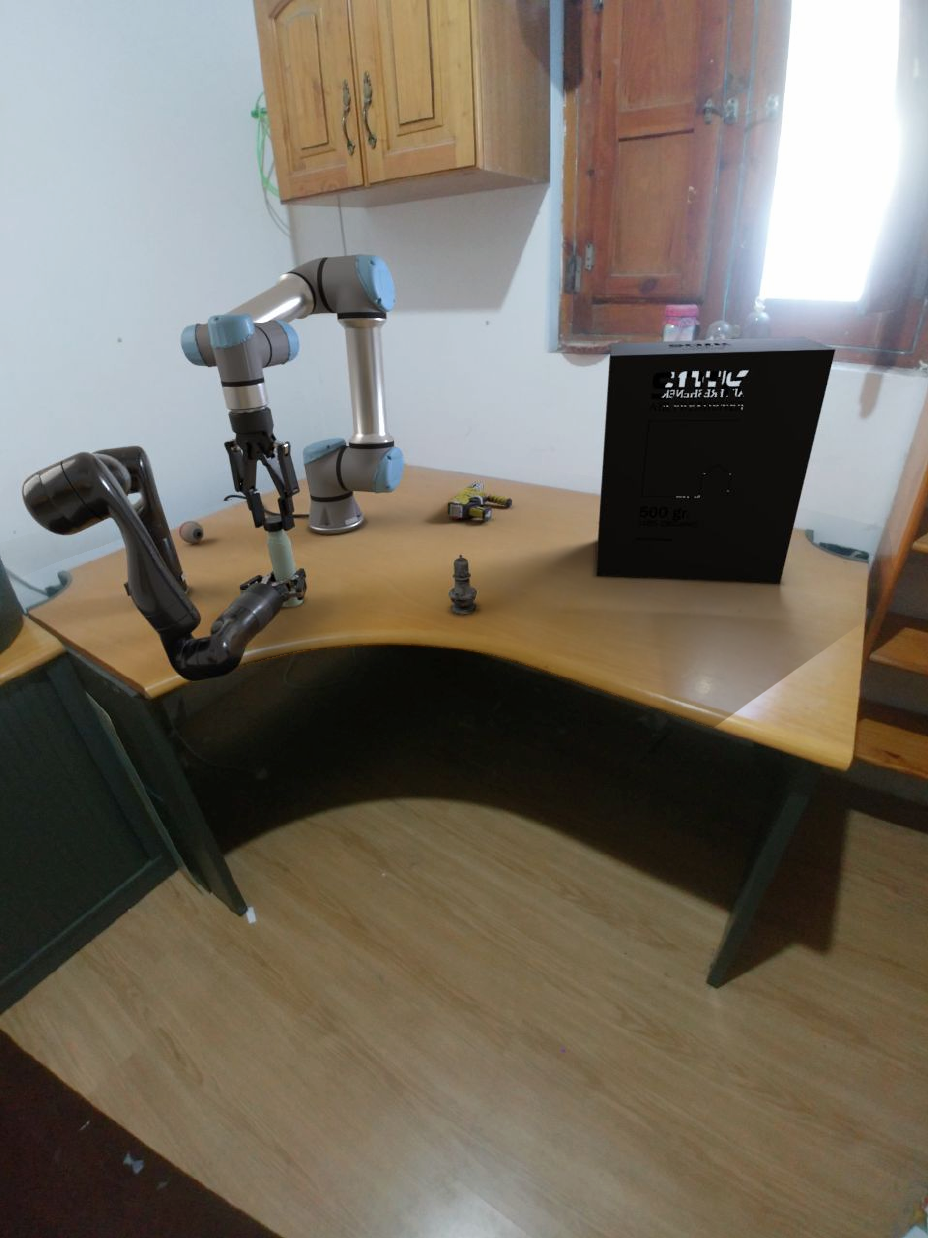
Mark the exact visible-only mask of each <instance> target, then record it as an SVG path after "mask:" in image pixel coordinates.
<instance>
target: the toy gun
mask: <svg viewBox="0 0 928 1238" xmlns="http://www.w3.org/2000/svg"><path fill="white" fill-rule="evenodd" d="M487 502H488V503H493V504H496V505H500V506H504V507H506V508H510V507H511V506H512V505H513V499H512V498H509V497H504V496H500V495H499V496H498V495H494V494H492V493H490V494H489V495H488V496H487V495H486V492H485V483H484V482H483V481H480V482H479V481H477V480H474V482H473V483H471V484H470V485H468V486H467V487H465V488H464V489H462V491H460V492H459V493H458V494H456V496H454V497H453V498H452V499H451V500H449V501H448V502H447V505H446V514H447V516H448V517H451V518H452V519H455V520H458V519H459V518H460V519H467V518H471V517H475V518H479V519H482V522H484V523H485V522H487V521H488V520H491V518H492V512H493V507H492V506H485V505H484V504H486V503H487Z"/></svg>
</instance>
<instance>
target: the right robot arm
mask: <svg viewBox="0 0 928 1238" xmlns="http://www.w3.org/2000/svg"><path fill="white" fill-rule="evenodd" d="M395 301H396V291H395V284H394V280H393V277H392V274H391V271H390V269H389V268H388V265H387V263H386V262H385V261H384V260H383V259H382V258H381V257H380V256H379V255H376V254H363V253H362V254H359V253H358V254H351V255H350V254H349V255H339V256H330V257H328V256H327V257H326V256H324V257H318V258H315V259H312V260H309V261H307V262H304V263H302V264H301V265H298V266H297V267H295V268H293V269H291V270H288V271H287V272H286V273H283V274H282V275H281V276H279V277H278V278H277V280H276V282H275V284H274V286H271V287H270V288H268V289H267V290H265V291H263V292H261V293H259V294H258V295H256V296H254V297H252V298H250V299H249V300H247V301H245V302H244V303H242V304H240V305H238V306H236V307H234V308H233V309H231V310H229V311H228V312H226V313H224V314H215V315H211V316H210V317H209V318H208V319H207V323H206V322H205V323H195V324H190V325H187V326H185V327H184V328H183V330H182V332H181V334H180V346H181V347H180V348H181V350H182V353H183V354H184V355H183V356H184V357H185V358H186V359H187V360H188V361H189V363H190V364H192V365H195V366H196V367H207V368H212V367H213V368H214V367H217V372H218V374H219V378H220V379H219V380H220V385H221V389H222V394H223V399H224V402H225V403H224V404H225V407H226V409H228V410H229V412H228V414H227V415H228V419H229V424H230V427H231V431H232V432H233V433H234V434H235V437H234V438H233V439H230V440H226V441H225V442H224V443H223V447H224V448H225V451H226V453H227V456H228V460H229V466H230V471H231V476H232V483H233V487H234V491H235V492H236V493H242V495H240V494H229V495H227V496H225V497H224V498H223V502H227V501H228V500H229V499H233V498H237V499H242V500H245V501H246V504H247V508H248V510H249V511H250V512H251V516H252V519H253V524H254V528H255V529H260V528H262V527H263V522H262V521H263V519H265V518H266V514H267V515H269V516H281V519H282V524H283V528H284V532H289V531H290V530H292V529H293V528H295V527H296V524H295V518H308V521H307V524H308V528H309V529H308V530H310V531H311V532H312V533H314V534H317V535H323V536H324V535H325V536H327V535H329V536H331V535H339V534H340V535H341V534H345V533H350V532H353V531H355V530H357V529H359V528H361V527H362V526H363V525H364V523H365V519H364V514H363V512H362V510H361V508H360V505H359V504H358V501H357V500H356V498H355V495H354V492H359V493H374V494H390V493H392V492H394V491H395V490H396V489H397V488H398V487H399V485H400V483H401V481H402V479H403V475H404V467H405V456H404V454H403V450H402V449H401V448H400V447H398V446H395V438H394V437H393V436H392V435H391V434H390V433H389V432H388V418H387V401H386V388H385V387H386V386H385V385H386V383H385V371H384V369H385V368H384V356H383V341H382V339H383V338H382V329H383V328H382V327H383V326H384V325H385V324H386V323H387V321H388V317H387V313H389V312H390V311H392V310H393V309H394V306H395ZM319 314H336V320H337V323H339V324H340V325H341V327H342V328H343V329H344V335H345V336H344V338H345V350H346V358H347V359H346V360H347V371H348V381H349V394H350V407H351V417H352V418H351V420H352V428H353V429H352V431H353V433H352V435H351V436H350V438H348V441H346V439H345V438H342V437H334V438H328V439H323V440H320V441H319V440H318V441H316V442H313V443H309V444H308V445H306V446H305V447H304V448H303V450H302V457H303V458H302V460H303V467H304V471H305V477H306V481H307V486H308V492H309V498H310V507H309V513H296V514H295V506H294V500H293V497H294V496H295V495H297V494H299V493H300V491H301V489H300V485H299V481H298V478H297V474H296V471H295V466H294V463H293V460H292V456H291V447H292V445H291V442H290V441H280V440H278V439H277V437H276V436H275V433H274V427H275V425H274V424H275V423H274V419H273V414H272V410H271V408H270V407H269V406H268V405H269V404H270V399H269V396H268V395H269V394H268V391H267V386H266V385H267V384H266V381H265V376H264V371H263V369H266V368H271V367H275V366H279V365H286V364H287V363H290V362H291V361H293V360H294V359H295V358H297V356H298V354H299V351H300V339H299V336H298V333H297V331H296V330H295V328H294V327H293V326H292V325H291V324H290V323H291V322H293V321H294V320H304V319H306V318H308V317H309V316H313V315H319ZM347 442H348V443H347ZM347 444H348V445H347ZM259 461H260V462H261V465H262V466H263V467H265V468H266V471H267V472H268V474H269V477H270V478H271V480H272V482H273V485H274V487H275V489H276V491H277V493H278V495H279V497H278V498H277V504H278V510H279V513H278V512H273V511H270V510H267V509H266V508H264V504H263V501H262V497H261V493H260V492H258V491H259V488H257V470H258V469H257V468H258V462H259Z"/></svg>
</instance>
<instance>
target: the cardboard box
mask: <svg viewBox="0 0 928 1238" xmlns="http://www.w3.org/2000/svg"><path fill="white" fill-rule="evenodd" d="M835 354H836V349H835V348H833V347H830V346H829V345H826V344H823V343H821V342H818V341H815V340H813V339H811V338H808V337H805V336H793V337H791V336H790V337H762V338H761V337H757V338H729V339H727V338H726V339H700V340H699V339H698V340H696V339H695V340H671V341H670V340H669V341H668V340H667V341H665V340H664V341H639V342H638V341H637V342H611V343H610V346H609V357H608V358H609V361H608V376H607V388H606V389H607V390H606V395H607V396H606V404H605V405H606V407H605V408H606V409H605V421H604V436H603V437H604V438H603V452H602V453H603V454H602V466H601V467H602V469H601V470H602V472H601V483H600V484H601V485H600V499H599V501H600V502H599V515H598V531H597V532H598V533H597V546H596V547H597V548H596V549H597V551H596V572H595V575H596V576H598V577H599V576H601V577H620V578H621V577H623V578H624V577H625V578H644V579H645V578H647V579H671V580H691V581H693V580H694V581H713V582H714V581H717V582H738V583H739V582H740V583H741V582H742V583H760V584H762V583H763V584H781V582H782V577H783V573H784V569H785V565H786V560H787V557H788V551H789V547H790V543H791V539H792V535H793V530H794V526H795V522H796V519H797V513H798V511H799V510H798V509H799V505H800V501H801V497H802V492H803V488H804V484H805V481H806V477H807V471H808V469H809V463H810V459H811V454H812V451H813V447H814V443H815V438H816V434H817V430H818V425H819V421H820V416H821V413H822V408H823V404H824V400H825V395H826V391H827V387H828V384H829V383H828V382H829V378H830V374H831V370H832V365H833V361H834V357H835ZM746 371H747V372H746ZM685 372H686V375H685V376H686V377H685V379H684V386H680V382H681V377H680V375H681V374H683V373H685ZM693 372H698V374H697V377H696V376H693ZM708 372H709V376H707V374H708ZM741 372H746V373H745V375H744V376H739V374H740V373H741ZM729 374H730V377H729V382H738V385H733V386H732V385H728V383H727V380H728V376H729ZM709 382H710V383H715V384H714V386H709ZM696 383H699V385H698V386H696ZM667 384H672V386H667Z"/></svg>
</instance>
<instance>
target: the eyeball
mask: <svg viewBox="0 0 928 1238" xmlns="http://www.w3.org/2000/svg"><path fill="white" fill-rule="evenodd" d="M178 533H179V537H180V539H181V540H183V541H184V542H185V543H188V544H192V545H193V544H197V543H200V542H201V541H202V539H203V538H204V536H205V535H204V534H205V532H204V528H203V526H202V525H201V524H200V523H198V522H196V521H194V520H188V521H185V522H184V523H182V524H181V525H180V526H179V529H178Z"/></svg>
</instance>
